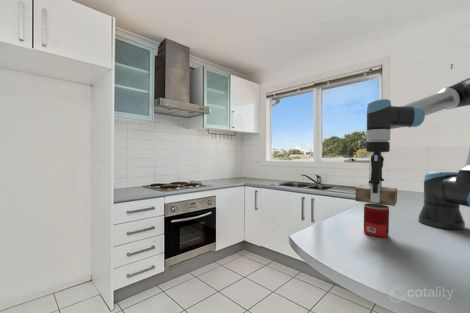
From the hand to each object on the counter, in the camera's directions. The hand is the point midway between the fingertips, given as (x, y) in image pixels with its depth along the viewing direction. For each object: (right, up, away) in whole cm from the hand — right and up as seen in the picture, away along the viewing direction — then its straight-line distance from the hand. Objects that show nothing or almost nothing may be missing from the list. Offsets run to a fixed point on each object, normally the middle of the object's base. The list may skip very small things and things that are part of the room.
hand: (376, 199), depth 85 cm
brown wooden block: (0, -1, 0) cm, 1 cm away
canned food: (0, -13, 0) cm, 13 cm away
